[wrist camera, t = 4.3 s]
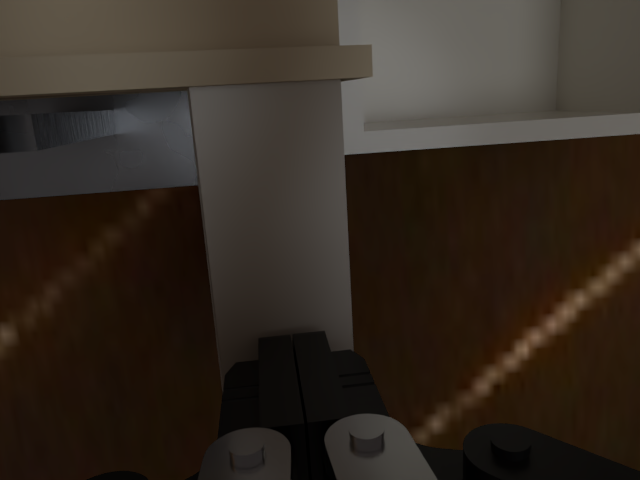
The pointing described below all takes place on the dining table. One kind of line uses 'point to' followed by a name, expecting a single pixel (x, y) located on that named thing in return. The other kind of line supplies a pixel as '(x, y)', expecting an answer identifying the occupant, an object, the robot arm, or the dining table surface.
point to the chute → (226, 137)
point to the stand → (95, 144)
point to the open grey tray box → (490, 72)
